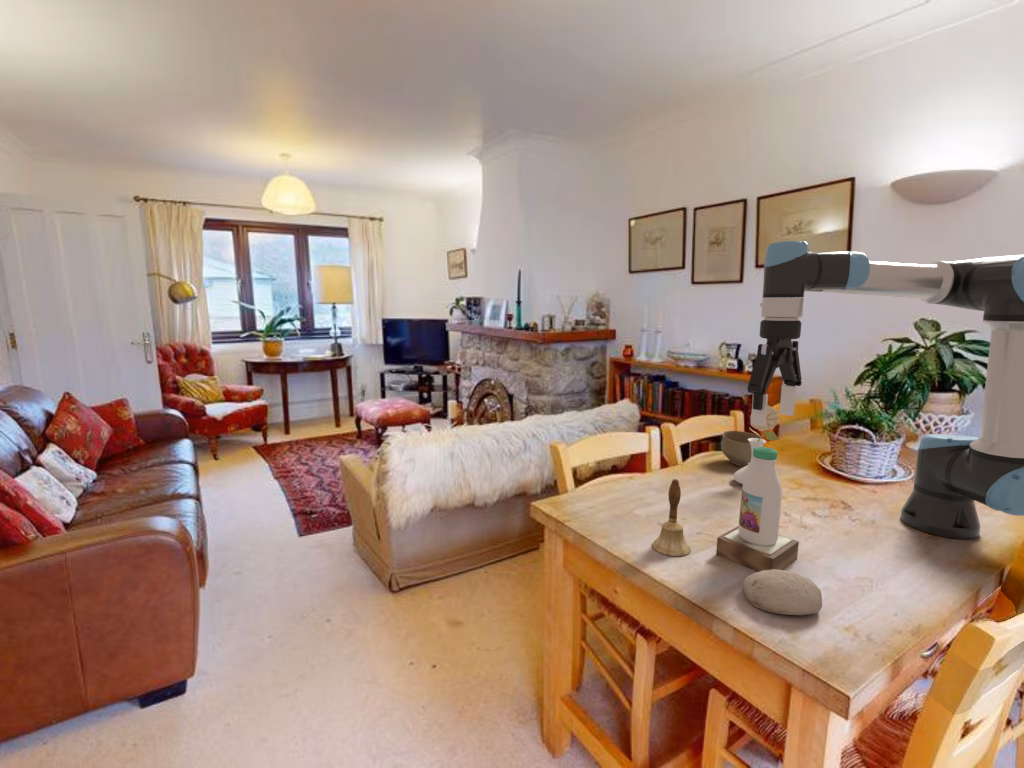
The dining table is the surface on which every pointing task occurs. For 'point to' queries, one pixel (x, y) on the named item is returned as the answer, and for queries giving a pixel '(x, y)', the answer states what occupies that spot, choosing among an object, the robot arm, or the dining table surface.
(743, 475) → the flower in vase
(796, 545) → the plinth
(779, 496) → the milk bottle
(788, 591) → the stone
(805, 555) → the dining table surface
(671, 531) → the hand bell
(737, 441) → the bowl
